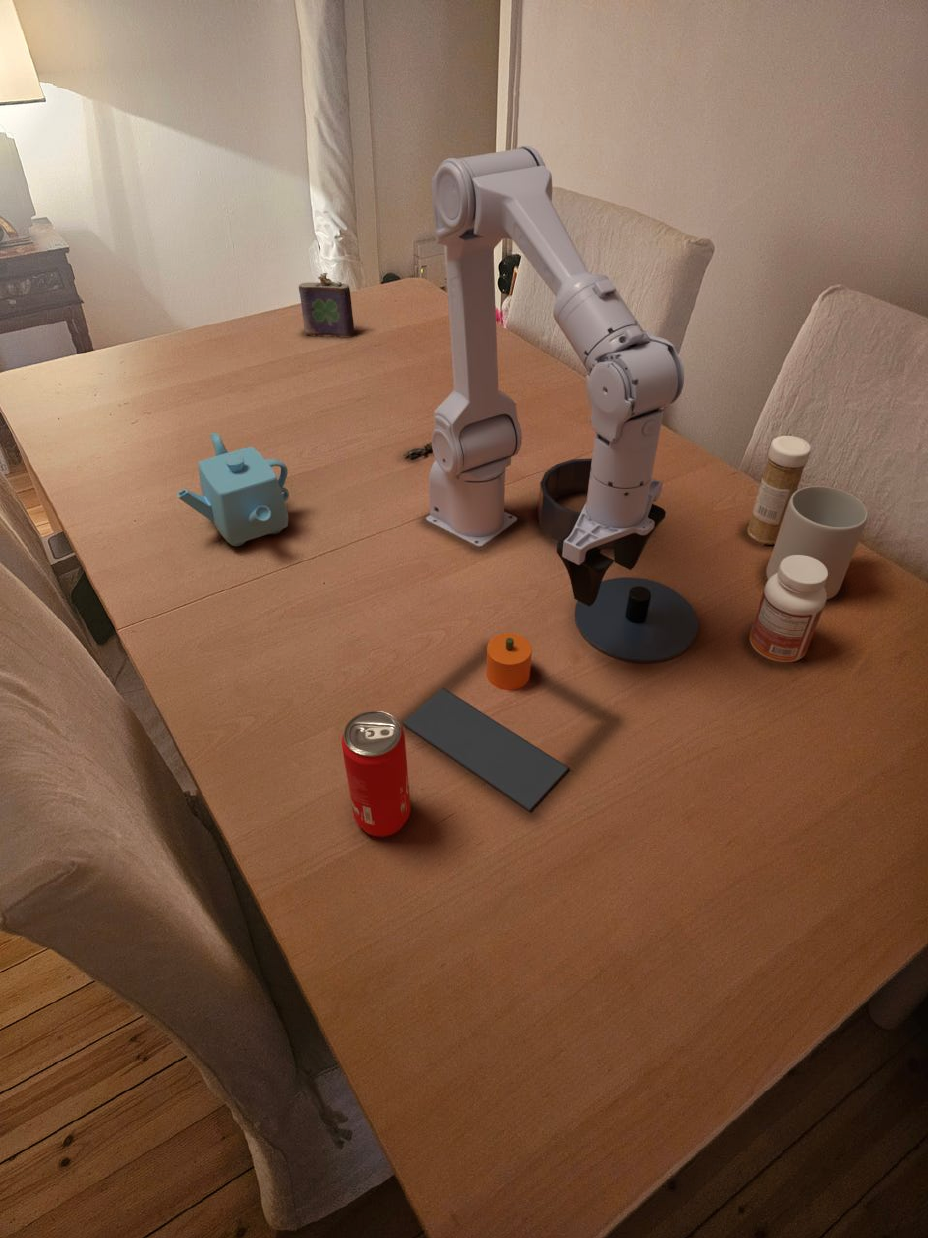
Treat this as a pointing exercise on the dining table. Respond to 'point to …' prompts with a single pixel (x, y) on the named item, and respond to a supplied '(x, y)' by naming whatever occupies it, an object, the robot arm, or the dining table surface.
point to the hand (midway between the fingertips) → (604, 582)
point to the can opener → (419, 450)
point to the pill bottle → (790, 609)
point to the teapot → (240, 493)
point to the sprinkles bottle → (778, 486)
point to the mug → (821, 531)
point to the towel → (486, 748)
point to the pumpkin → (508, 661)
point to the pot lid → (637, 621)
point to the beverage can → (377, 772)
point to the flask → (326, 308)
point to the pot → (557, 484)
